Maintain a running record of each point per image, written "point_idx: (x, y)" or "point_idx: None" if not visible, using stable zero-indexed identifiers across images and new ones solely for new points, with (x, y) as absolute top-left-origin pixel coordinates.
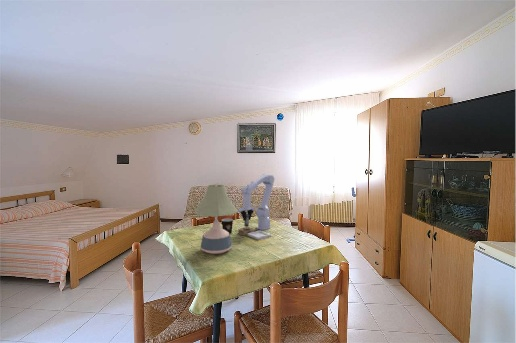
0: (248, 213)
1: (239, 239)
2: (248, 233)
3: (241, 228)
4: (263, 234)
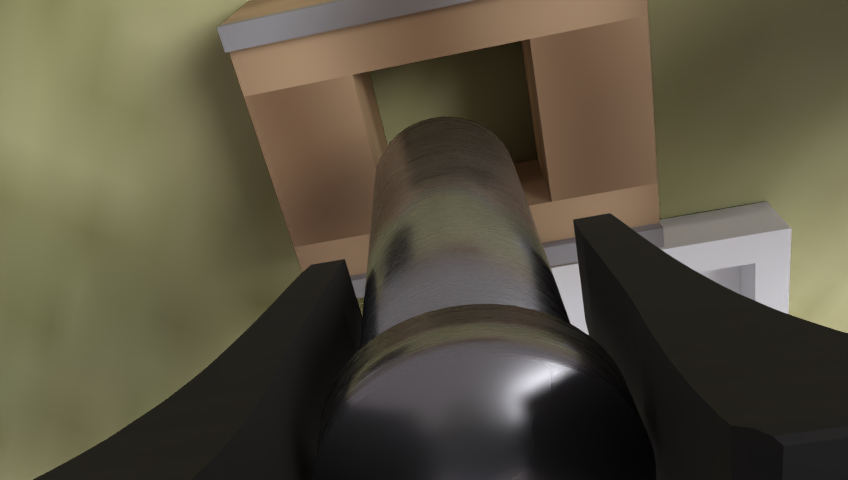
0: (665, 436)
1: (163, 379)
2: None
3: (331, 14)
4: None
